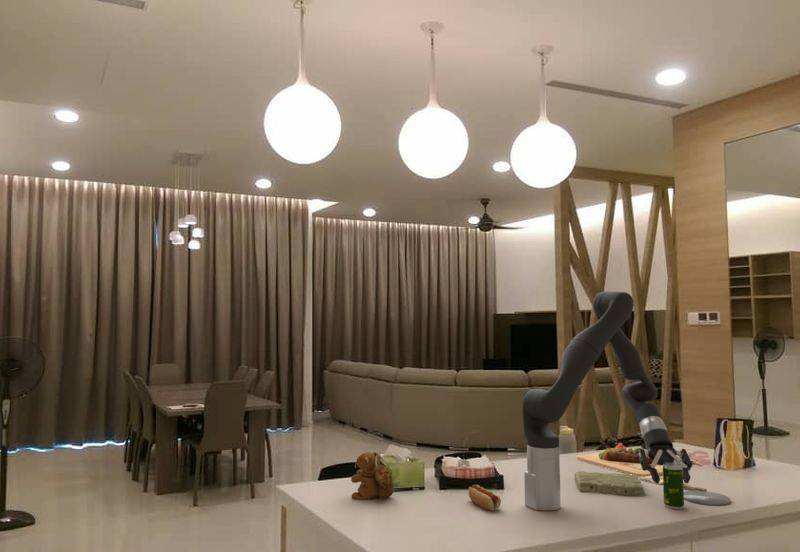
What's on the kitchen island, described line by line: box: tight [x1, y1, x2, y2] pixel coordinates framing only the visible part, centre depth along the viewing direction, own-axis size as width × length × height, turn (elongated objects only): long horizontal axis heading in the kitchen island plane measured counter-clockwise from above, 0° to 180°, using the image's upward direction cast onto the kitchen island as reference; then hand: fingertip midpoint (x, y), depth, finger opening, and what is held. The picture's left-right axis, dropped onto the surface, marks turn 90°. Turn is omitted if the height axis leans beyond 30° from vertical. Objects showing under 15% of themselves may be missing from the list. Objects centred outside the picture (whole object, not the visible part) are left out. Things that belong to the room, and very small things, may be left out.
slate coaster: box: [684, 490, 731, 506], centre depth 190 cm, size 13×13×1 cm
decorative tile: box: [574, 470, 646, 496], centre depth 204 cm, size 19×20×4 cm
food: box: [468, 484, 502, 512], centre depth 183 cm, size 14×6×5 cm, turn 21°
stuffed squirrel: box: [350, 451, 396, 501], centre depth 192 cm, size 10×14×13 cm
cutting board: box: [576, 442, 664, 477], centre depth 237 cm, size 35×23×8 cm
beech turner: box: [639, 476, 708, 492], centre depth 206 cm, size 22×6×1 cm, turn 30°
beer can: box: [662, 462, 685, 510], centre depth 182 cm, size 5×5×12 cm
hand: (672, 482), depth 182 cm, fingers open, 8 cm apart
